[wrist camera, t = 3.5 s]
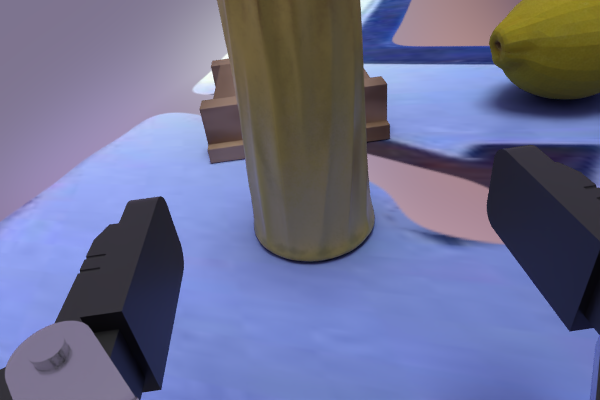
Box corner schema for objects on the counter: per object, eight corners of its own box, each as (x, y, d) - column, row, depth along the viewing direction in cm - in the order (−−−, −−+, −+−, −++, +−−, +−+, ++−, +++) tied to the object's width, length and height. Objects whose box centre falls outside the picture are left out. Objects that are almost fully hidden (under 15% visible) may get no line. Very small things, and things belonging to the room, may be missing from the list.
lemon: (602, 71, 35) (634, -43, 30) (670, 110, 28) (725, -27, 24) (463, 85, 35) (474, -24, 31) (499, 126, 29) (520, -4, 24)
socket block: (355, 79, 39) (353, 39, 37) (389, 138, 29) (390, 87, 27) (221, 97, 39) (213, 58, 37) (211, 163, 29) (198, 114, 27)
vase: (238, 258, 21) (148, -104, 13) (274, 188, 26) (224, -108, 18) (367, 269, 19) (356, -134, 11) (379, 192, 24) (377, -129, 16)
